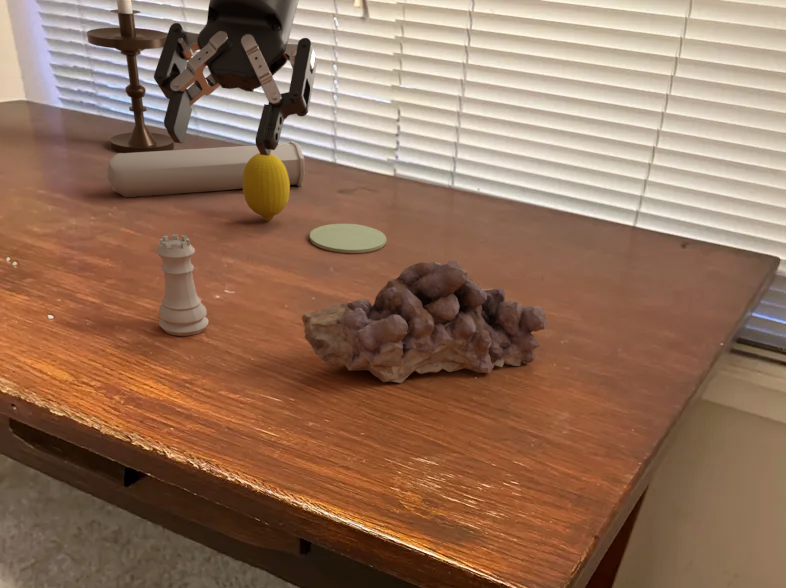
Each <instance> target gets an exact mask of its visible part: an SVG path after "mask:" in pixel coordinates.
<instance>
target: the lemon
mask: <svg viewBox="0 0 786 588" xmlns="http://www.w3.org/2000/svg"><path fill="white" fill-rule="evenodd" d="M242 191H243V197H244V200H245V202H246V204H247V206H248V207H249V208H250V210H251V211H253V212H254V213H255V214H256V215H259V216H260V217H261V218H262V219H263V220H264V221H266V222H268V221H271V220H272V219H273V218H274V217H275V216H277V215H279V214H281V212H283V211H284V209H286V207H287V205H288V202H289V199H290V191H291V185H290V183H289V177H288V173H287V170H286V168H285V166H284V164H283V163H282V161H281V160H280V159H279V158H278V157H276V156H275V155H273V154H270V155H269V156H267V155H261V154H260V153H258V154H256V155H254V156H253V157H252V158H251V159H250V160H249V161H248V162H247V164H246V166H245V169H244V173H243V189H242Z"/></svg>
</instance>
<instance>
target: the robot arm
mask: <svg viewBox="0 0 786 588" xmlns="http://www.w3.org/2000/svg"><path fill="white" fill-rule="evenodd" d="M298 5H299V0H209V3H208V9H207V19H206V23H205V25H204V27H203V28H202V29H201V30H200V31H199V33H196V32H192V31H185V30H184V28H183V26H182V24H181V23H179V22H174V23H172V24H171V25H170V26H169V29H168V32H167V34H168V35H167V38H166V41H165V44H164V47H162V50H161V53H160V56H159V59H158V62H157V65H156V68H155V71H154V73H153V79H154V81H155V83H156V84H157V86H158V87H159V89H160V91H161V92H162V94H163V95H164V97H165V98H166V99H167V100H168V104H167V107H166V111H165V115H164V118H163V124H164V128H165V129H166V131H167V134H168V136H169V137H171V138H172V140H173V142H174V143H176V144H184V142H185V138H186V136H187V131H188V127H189V124H190V120H191V115H192V113H193V108H192V106H193V105H194V104H195V103H196V102H197V101H199V100H200V99H201V98H202V97H203V96H210V95H211V94H212V93H214V92H215V91H216V90H217V89H218V88H219V87H221V88H222V89H228V90H232V89H240V90H242V91H245V92H251V93H254V91H255V90H256V89H259V88H260V87H261V88H262V91H263V93H264V95H265V97H266V99H267V101H268V104H266V103H265V104H264V103H263V107H262V112H261V115H260V118H259V123H258V127H257V131H256V135H255V145H256V146H257V148H258V150H259V152H260V154H261V155H267V156H269V155H270V152H271V150H275V149H276V147H277V146H278V144H280V139H281V134H282V130H283V126H284V122H285V120H287V118H288V117H289V116H293V115H297V116H298V117H306V116H307V114H308V113H309V109H310V106H311V105H310V104H311V100H312V94H313V93H312V92H313V87H314V83H315V78H316V72H317V66H318V59H317V57H316V53H315V50H314V46H313V44H312V42H311V39H310V38H308V37H302V38H300V39H299V40H298V42H297V44H295V43H289V41H290V37H291V33H292V28H293V25H294V20H295V16H296V13H297V9H298ZM197 51H198V52H197ZM288 61H289V63H290V66H291V68H292V73H291V79H290V84H289V90H288V91H287V92H281V91H280V89H279V87H278V85H277V83H276V82H275V79H274V76H275V74H276V73H277V72H278V71H280V70H281V69H282V68H283V67H284V66H285V65H286V64H287V62H288ZM206 67H207V69H208V72H209V74H208V75H207V76H206V77H205V74H204V70H205V68H206Z"/></svg>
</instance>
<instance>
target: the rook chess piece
mask: <svg viewBox="0 0 786 588" xmlns="http://www.w3.org/2000/svg"><path fill="white" fill-rule="evenodd" d="M155 251H156V252H155V253H156V254H157V255H158V256H159V257H160V258H161V259H162V263H163V264H162V265H161V267H160V269H161V271H162V272H163V275H164V295H163V299H161V304H160V305H159V307H158V308H159V309H158V314H157V315H158V316H159V317H160V318H159V320H158V325H159V326H160V327H161V329H163V331H164V332H165V333H166V334H170V335H172V336H176V337H177V336H178V337H184V336H185V337H189V336H194V335H198V334H201V333H202V332H203V331H204V330H205V329H206V328H207V326H208V325H209V318H207V317H206V316H207V315H208V314H207V313H208V311H207V308H206V306H205V305H204V304H203V303H202V299H201V298H200V297H199V295H198V293H197V289H196V285H195V282H194V276H193V271H194V269H195V266H194V265H193V264H192V261H191V259H192V257H193V256H194V254H195V252H196V249H195V248H194V246H193V245H192V244H191V241H190V237H189V238H188V236H187V235H183V234H182V235H180V239H179V235H178V234H175V233H174V234H171V239H169V235H167V234H165V235H163V236H161V238H160V237H159V245H158V247H157V248H156V250H155Z"/></svg>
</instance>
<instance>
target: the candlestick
mask: <svg viewBox="0 0 786 588" xmlns="http://www.w3.org/2000/svg"><path fill="white" fill-rule="evenodd" d="M116 5H117V9H110V10H109V12H111V13H115V14H117V18H118V19H117V20H118V26H119V27H101V28H93V29H89V30H87V31H86V37H87V42H88V43H89V44H90V45H93V46H97V47H102V48H109V49H115V50H117V51H119V52H120V54H121V55H123V56H125V58H126V65H127V72H128V78H129V79H128V80H129V83H128V84H127V85H126V86H125V88H124V90H125V93H126V95H127V96H128V97H130V101H131V106H129V107H128V110H129V111H130V112H132V113H133V118H134V127H133V129H132V131H131V132H125V133H119V134H116V135H114V136H112V137H110V139H109V141H110V148H111V150H113V151H116V152H118V153H136V152H153V151H170V150H174V148H175V144H174V143H175V142H174V141H173V140H172V138H171V137H170V135H166V134H163V133H158V132H151V131H150V130H149V129H148V128H147V126H146V123H145V116H144V115H145V114H144V112H147V111H148V110H147V107H146V106H144V103H143V98H145V95H146V91H147V89H146V87H145V86H144V85H142V84H141V83H140V75H139V69H138V60H137V56H139V55H141V54H142V51H145V50H153V49H161V48H162V49H163V47H164V44H165V41H166V38H167V35H168V32H164V31H161V30H157V29H150V28H141V27H140V28H139V27H136V23H135V22H136V21H135V14H140V13H141V11H140V10H136V9H135V10H134V9H133V5H132V0H116Z"/></svg>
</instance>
